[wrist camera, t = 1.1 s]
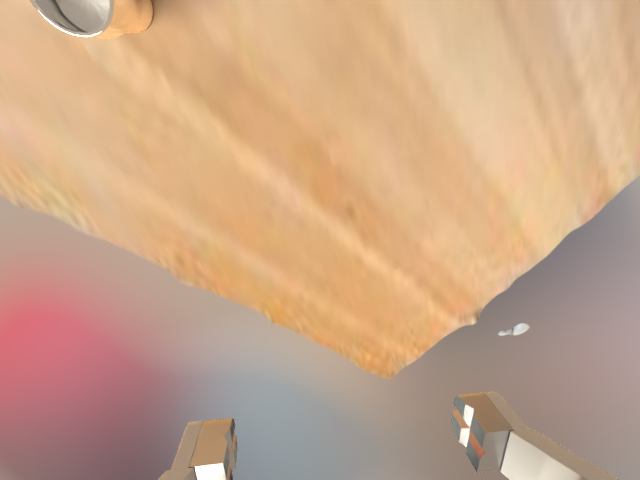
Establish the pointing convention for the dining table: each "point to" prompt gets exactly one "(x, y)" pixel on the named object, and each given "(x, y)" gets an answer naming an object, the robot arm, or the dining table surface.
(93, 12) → the beer glass
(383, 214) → the dining table surface
